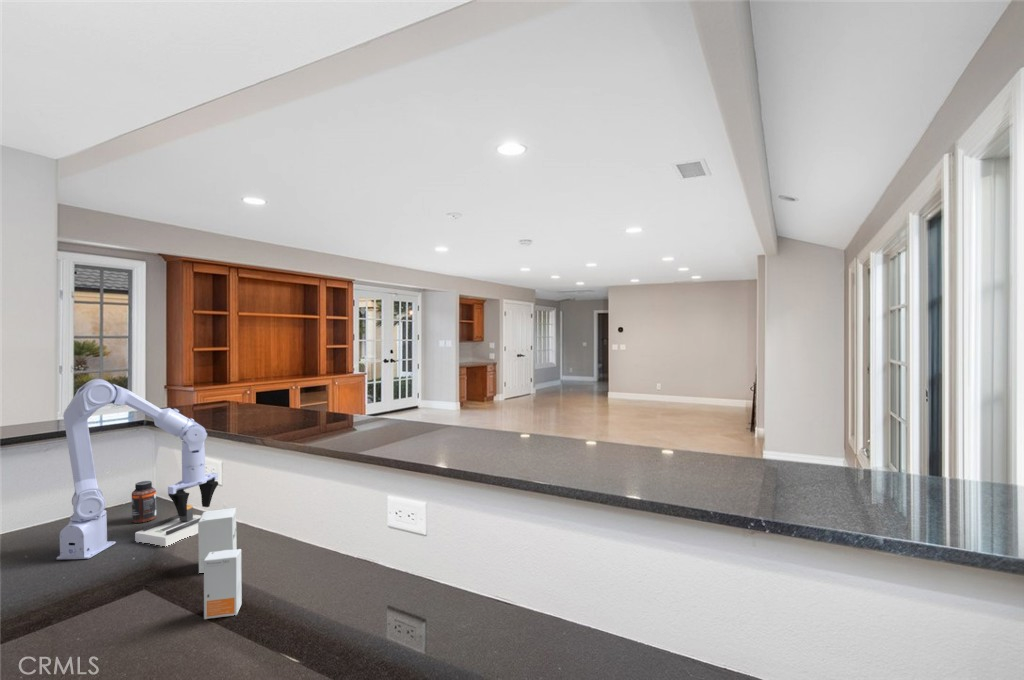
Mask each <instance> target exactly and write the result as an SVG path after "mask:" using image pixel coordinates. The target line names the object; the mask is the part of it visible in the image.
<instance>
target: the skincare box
mask: <svg viewBox="0 0 1024 680" xmlns="http://www.w3.org/2000/svg"><path fill="white" fill-rule="evenodd" d="M242 589H243V588H242V548H238V549H235V550H223V551H216V552H209V554H208V555H207V557H206V558H205V560H204V574H203V619H204V620H208V619H216V618H223V617H224V618H225V617H234V615H235V616H237V615H238V614H239V610H240V608H241V606H242V604H243V603H242V601H243V600H242V598H243V595H242Z"/></svg>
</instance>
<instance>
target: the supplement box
mask: <svg viewBox="0 0 1024 680" xmlns="http://www.w3.org/2000/svg"><path fill="white" fill-rule="evenodd" d="M197 535H198V537H197V538H198V546H197V547H198V574H199V573H204V560H205V558H206V557H207V555H208V554H209V552H216V551H223V550H235V549H237V548H238V547H237V542H238V541H237V507H230V508H223V509H216V510H215V509H214V510H209V511H203V512H202V514H201V518H200V520H199V521H198V533H197Z"/></svg>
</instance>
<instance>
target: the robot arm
mask: <svg viewBox="0 0 1024 680" xmlns="http://www.w3.org/2000/svg"><path fill="white" fill-rule="evenodd" d="M110 403H112V405H114V406H115V405H119V406H121V405H123V406H124V405H125V406H128V407H130V408H131V409H134V410H136V411H137V412H140V413H142V414H144V415H145V416H147V417H149V418H151V419H153V421H154V422H153V423H154V426H156V427H157V428H159V429H161V430H162V431H165V432H166V433H168V434H170V435H172V436H174V437H179V438H180V440H182V441H181V443H182V444H181V445H182V446H181V480H180V481H178V482H176V483H173V484H172V485H169V486H167V494H168V497H169V498H170V499H171V501H172V503H173V505H174V506H175V509H176V512H177V515H179V516H183V517H184V516H186V513H187V505H188V500H189V495H190V493H189V492H186V490H188V489H190V488H194V487H197V486H198V487H199V491H200V497H201V506H202V507H203V508H209V507H210V505H211V502H212V499H213V495H214V492H215V491H216V489H217V488H218V485H219V481H217V480H218V479H219V477H218V476H219V472H218V473H217V472H210V473H206V449H205V440H206V439H207V437H208V432H207V430H206V428H205V427H204V426H202V425H201V424H200V423H198V422H196V421H195V419H193V418H192V417H190V418H189V417H187V416H185V415H183V414H182V413H180V410H179V409H177V408H176V407H175V408H173V409H172V408H171V407H166V408H160V407H158V406H157V405H155V404H153V403H151V402H150V401H148V400H146V399H145V398H143V397H142V396H140V395H139V394H136V393H135V392H133V391H131V390H130V389H127V388H125V387H122V386H119V385H117V384H115V383H110V382H109V381H107V380H105V379H102V378H94V379H91V380H88V382H86V383H84V384H83V385H82V386H80V387H79V388H78V389H77V390H76V393H75V394H74V396H73V398H72V399H71V400H70V402H69V403H68V405H67V406H66V408H65V410H64V412H63V415H62V416H63V422H64V428H65V435H66V441H67V442H66V443H67V448H68V454H69V459H70V466H71V473H72V474H71V475H72V479H73V487H74V493H73V495H72V498H71V505H72V509H73V513H72V514H71V515H70V520H69V522H68V524H66V526H64V527H63V528H62V529H61V531H60V533H59V555H58V556H57V557H56V560H88V559H91V558H92V557H94V556H96V555H98V554H100V553H101V552H103V551H105V550H107V549H108V548H110V547H112V546H113V545H115V544H116V542H117V541H114V540H113V541H108V525H107V524H108V520H107V515H108V514H107V509H105V508H106V504H107V503H106V500H105V498H104V496H103V492H102V491H101V489H100V488H99V486H98V480H97V475H96V468H95V461H94V455H93V448H92V442H91V436H90V435H91V434H90V429H89V422H88V420H89V419H90V417H91V416H92V415H93V414H95V413H96V412H97V411H98V410H100V409H101V408H103V407H105V406H107V405H109V404H110Z"/></svg>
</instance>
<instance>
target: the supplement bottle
mask: <svg viewBox="0 0 1024 680" xmlns="http://www.w3.org/2000/svg"><path fill="white" fill-rule="evenodd" d="M134 486H135V487H134V488H135V489H134V490H133V491H132V492H131V517H132V522H133V523H136V524H139V523H142V522H143V523H147V521H148V522H151V521H153V520H155V519H156V518H157V490H156V488H154V487H153V484H152V481H151V480H143V481H139V482H136V483H135V485H134ZM150 520H151V521H150Z"/></svg>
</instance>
